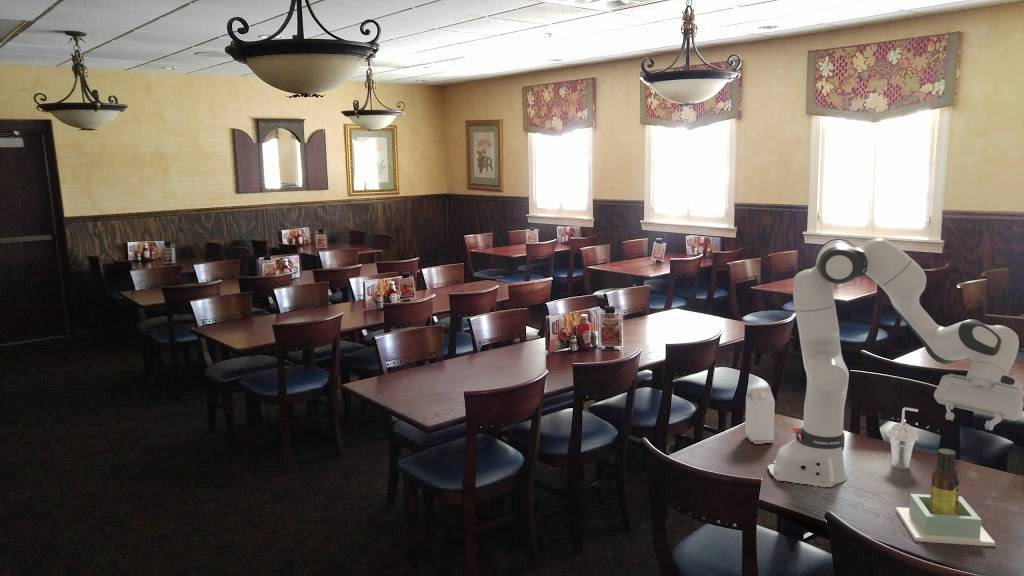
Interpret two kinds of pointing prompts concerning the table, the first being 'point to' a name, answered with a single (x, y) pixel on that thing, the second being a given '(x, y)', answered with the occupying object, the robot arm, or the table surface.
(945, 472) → the sauce bottle
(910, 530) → the caddy
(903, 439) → the cup with straw
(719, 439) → the table surface
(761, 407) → the milk carton
